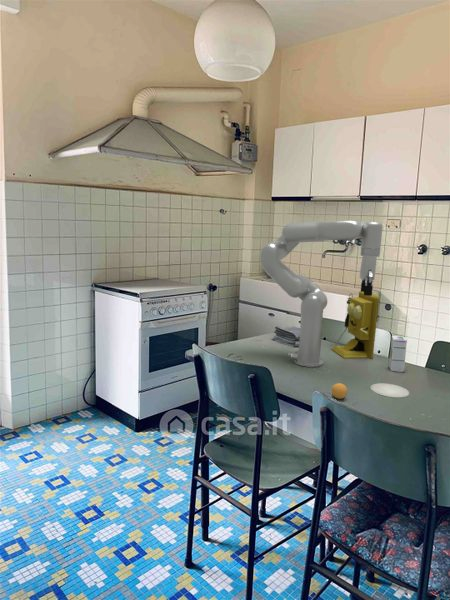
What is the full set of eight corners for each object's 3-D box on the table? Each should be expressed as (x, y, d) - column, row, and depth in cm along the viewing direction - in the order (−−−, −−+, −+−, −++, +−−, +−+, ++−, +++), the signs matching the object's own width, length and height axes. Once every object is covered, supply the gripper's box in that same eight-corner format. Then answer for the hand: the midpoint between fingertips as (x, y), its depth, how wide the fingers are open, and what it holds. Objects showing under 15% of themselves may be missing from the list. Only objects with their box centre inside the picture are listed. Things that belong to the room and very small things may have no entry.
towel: (295, 348, 226) (296, 333, 225) (270, 340, 240) (271, 325, 239) (316, 344, 235) (317, 330, 233) (291, 336, 249) (292, 322, 248)
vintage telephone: (324, 344, 236) (328, 287, 230) (349, 343, 238) (354, 287, 233) (349, 363, 205) (355, 298, 200) (378, 362, 208) (385, 298, 202)
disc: (374, 395, 167) (374, 395, 167) (367, 382, 181) (367, 382, 181) (414, 399, 166) (414, 398, 166) (403, 385, 180) (403, 384, 180)
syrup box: (404, 372, 196) (408, 339, 193) (389, 370, 197) (393, 338, 194) (401, 368, 201) (405, 336, 199) (387, 366, 202) (391, 335, 200)
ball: (331, 400, 162) (333, 385, 161) (330, 394, 167) (331, 380, 166) (347, 401, 161) (349, 387, 160) (345, 395, 166) (346, 381, 165)
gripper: (358, 250, 195) (354, 289, 198) (363, 253, 178) (359, 296, 181) (376, 251, 194) (372, 291, 197) (383, 254, 177) (378, 297, 180)
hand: (366, 293), depth 189 cm, fingers open, 9 cm apart
